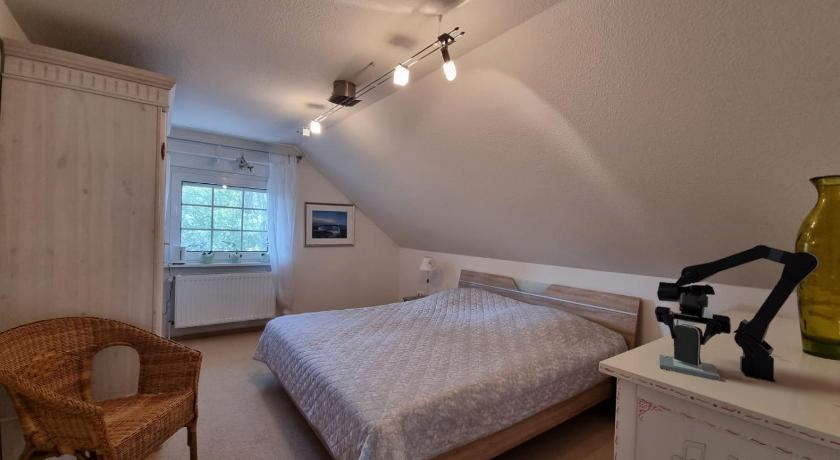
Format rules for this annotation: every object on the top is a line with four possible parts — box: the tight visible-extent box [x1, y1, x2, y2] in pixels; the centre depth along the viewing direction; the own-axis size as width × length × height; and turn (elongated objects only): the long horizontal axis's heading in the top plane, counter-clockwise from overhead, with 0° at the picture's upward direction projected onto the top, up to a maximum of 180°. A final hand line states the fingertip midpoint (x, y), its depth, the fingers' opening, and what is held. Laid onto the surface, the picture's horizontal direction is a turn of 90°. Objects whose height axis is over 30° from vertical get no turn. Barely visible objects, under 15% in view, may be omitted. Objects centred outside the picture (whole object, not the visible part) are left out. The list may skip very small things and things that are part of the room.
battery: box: [673, 323, 704, 366], centre depth 106 cm, size 7×4×11 cm, turn 23°
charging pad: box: [659, 354, 721, 382], centre depth 106 cm, size 14×12×1 cm
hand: (687, 341), depth 105 cm, fingers closed on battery, 7 cm apart
